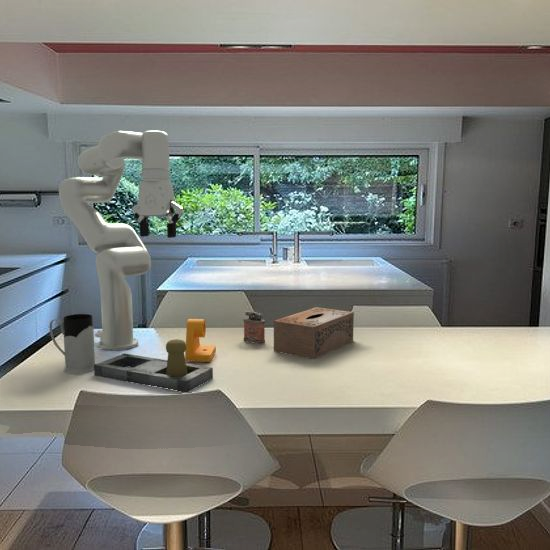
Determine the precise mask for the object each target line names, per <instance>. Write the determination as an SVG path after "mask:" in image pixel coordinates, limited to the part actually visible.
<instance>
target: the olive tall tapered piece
mask: <svg viewBox="0 0 550 550" xmlns="http://www.w3.org/2000/svg"><path fill="white" fill-rule="evenodd" d="M165 350H166V352H167V359H166V360H167V370H166V375H170V376H175V377H183V376H185V375H187V368H186V363H187V361H185V350H186V341H184V340H183V339H170V340H168V341H167V342H166V343H165Z"/></svg>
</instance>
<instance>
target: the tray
mask: <svg viewBox="0 0 550 550" xmlns="http://www.w3.org/2000/svg"><path fill="white" fill-rule="evenodd" d="M167 360H168V359H161V358H156V357H150V356H149V357H148V356H143V355H142V356H141V355H135V354H130V353H122V354H118V355H117V356H114V357H111V358H109V359H105V360H102V361H101V362H98V363H95V365H94V371H93V373H94V374H93V376H94V377H95V376H96V377H101V378H106V379H111V380H117V381H121V382H126V381H128V382H127V383H131V382H133V383H132V384H136V383H138V384H137V385H142V384H145V385H144V386H147V385H151V386H150V387H152V386H157V387H162V388H161V389H163V388H168V389H173V390H177V391H176V392H179V391H181V392H180V393H184V392H187V393H189V392H191V391H193V390H195V389H197V388H198V387H200V386H202V385H204V384H206V383H207V381H208V382H210V381H211V380H213V379H214V368H213V367H211V366H204V365H199V364H192V363H187V362H186V368H187V375H185V376H183V377H175V376H170V375H166V370H167ZM129 366H130V367H129ZM125 367H126V368H125ZM205 382H206V383H205ZM203 383H204V384H203ZM201 384H202V385H201ZM199 385H200V386H199ZM157 387H156V388H157ZM196 387H197V388H196ZM194 388H195V389H194ZM168 389H167V390H168ZM173 390H172V391H173Z"/></svg>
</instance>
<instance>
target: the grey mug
mask: <svg viewBox="0 0 550 550" xmlns="http://www.w3.org/2000/svg"><path fill="white" fill-rule="evenodd" d="M54 321H56V322H57V323H58V324H59V326H60V329H61V330H60V331H61V334H62V335H63V346H64V347H63V348H64V350H63V349H62V348H61V347H60V346H59V344H58V343H57V341H56V338H55V336H54V333H53V322H54ZM94 332H95V331H94V325H93V315H92V314H88V313H77V314H76V313H75V314H69V315H65V316H63V321H62V320H60V319H57V318H54V319H52V320H50V323H49V334H50V337H51V340H52V342H53V344H54V346H55V347H56V348H57V349H58V350H59V352H61V354H62V355H63V356H64V365H65V367H64V369H63V373H65V374H66V375H75V376H77V375H85V374H90V373H94V365H95V364H96V355H95V333H94Z"/></svg>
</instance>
